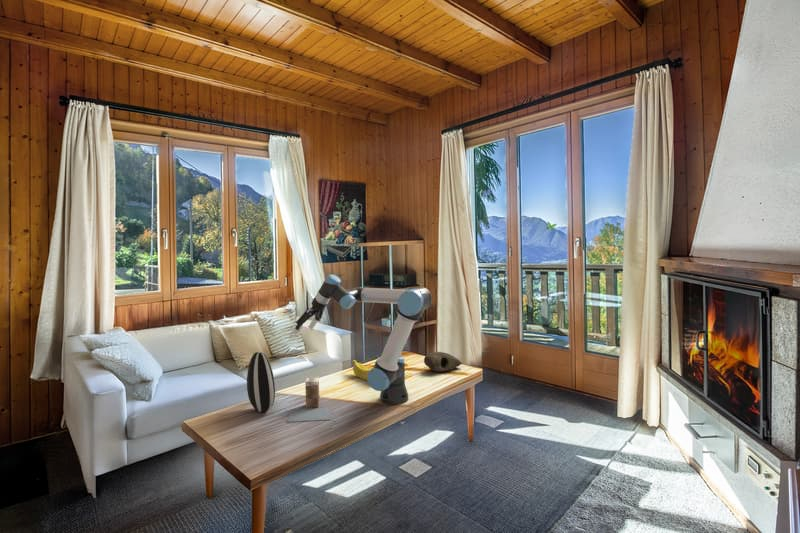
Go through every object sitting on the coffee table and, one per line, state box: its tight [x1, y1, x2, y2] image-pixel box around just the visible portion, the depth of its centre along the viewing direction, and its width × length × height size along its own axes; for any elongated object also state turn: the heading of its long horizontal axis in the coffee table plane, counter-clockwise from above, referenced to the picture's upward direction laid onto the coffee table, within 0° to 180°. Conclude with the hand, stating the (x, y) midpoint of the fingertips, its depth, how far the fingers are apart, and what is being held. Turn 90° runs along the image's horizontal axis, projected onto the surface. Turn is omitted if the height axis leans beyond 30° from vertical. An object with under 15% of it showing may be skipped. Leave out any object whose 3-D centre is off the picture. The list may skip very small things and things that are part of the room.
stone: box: [423, 351, 463, 373], centre depth 268 cm, size 25×12×15 cm
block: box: [305, 377, 321, 409], centre depth 211 cm, size 6×6×14 cm
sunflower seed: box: [246, 351, 276, 413], centre depth 206 cm, size 19×10×30 cm, turn 52°
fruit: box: [351, 359, 371, 381], centre depth 253 cm, size 7×30×9 cm, turn 41°
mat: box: [286, 407, 333, 423], centre depth 201 cm, size 20×14×1 cm
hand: (302, 331), depth 225 cm, fingers open, 13 cm apart
